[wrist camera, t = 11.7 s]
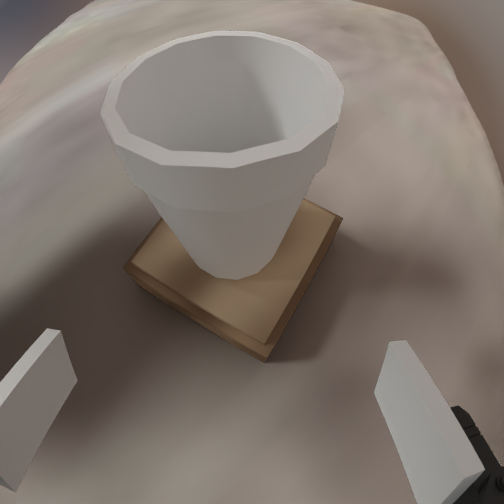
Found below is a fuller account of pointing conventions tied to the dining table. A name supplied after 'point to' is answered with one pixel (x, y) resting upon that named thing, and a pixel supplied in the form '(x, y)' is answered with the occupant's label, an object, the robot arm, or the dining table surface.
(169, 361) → the dining table surface
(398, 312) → the dining table surface
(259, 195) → the foam cup
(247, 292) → the pedestal
